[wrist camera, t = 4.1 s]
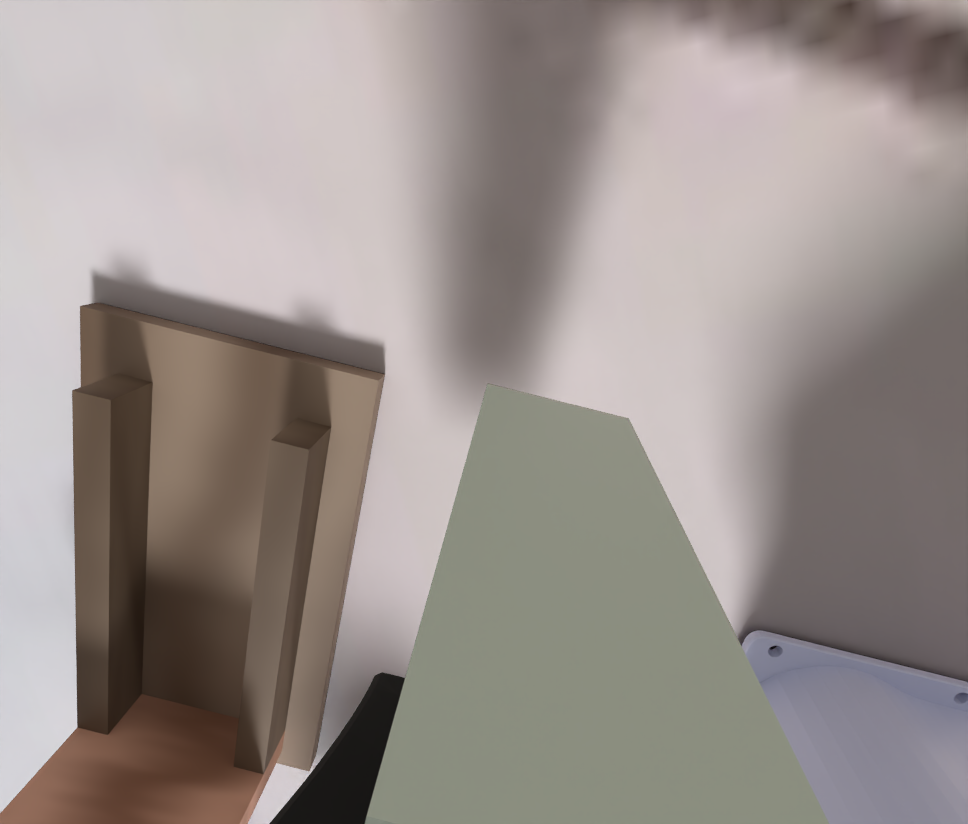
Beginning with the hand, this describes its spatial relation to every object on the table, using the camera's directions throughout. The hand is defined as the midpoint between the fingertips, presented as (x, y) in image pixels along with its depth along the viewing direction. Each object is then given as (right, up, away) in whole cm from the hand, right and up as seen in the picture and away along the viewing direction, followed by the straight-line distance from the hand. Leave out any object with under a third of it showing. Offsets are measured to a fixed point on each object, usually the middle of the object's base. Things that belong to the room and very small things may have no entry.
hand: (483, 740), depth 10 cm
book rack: (-10, 0, +12) cm, 16 cm away
